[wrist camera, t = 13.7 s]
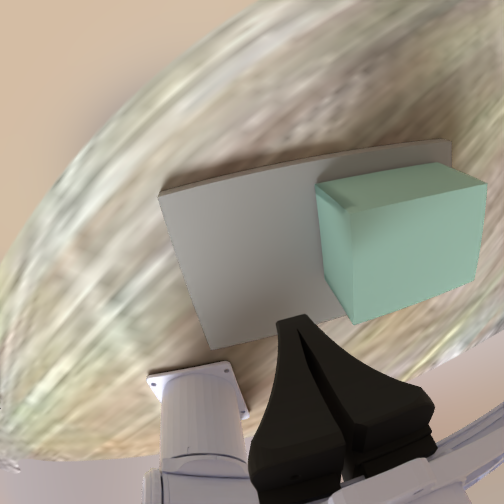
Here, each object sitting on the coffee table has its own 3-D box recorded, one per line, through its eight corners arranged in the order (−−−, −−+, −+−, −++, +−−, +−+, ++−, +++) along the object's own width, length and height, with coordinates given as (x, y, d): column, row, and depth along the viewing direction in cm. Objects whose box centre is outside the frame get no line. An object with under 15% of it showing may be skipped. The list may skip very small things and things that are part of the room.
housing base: (435, 276, 27) (458, 297, 24) (210, 340, 26) (212, 373, 23) (442, 138, 21) (474, 148, 18) (159, 191, 20) (151, 211, 17)
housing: (433, 247, 24) (474, 280, 19) (324, 279, 23) (353, 325, 18) (437, 162, 20) (487, 183, 15) (314, 184, 20) (350, 213, 15)
